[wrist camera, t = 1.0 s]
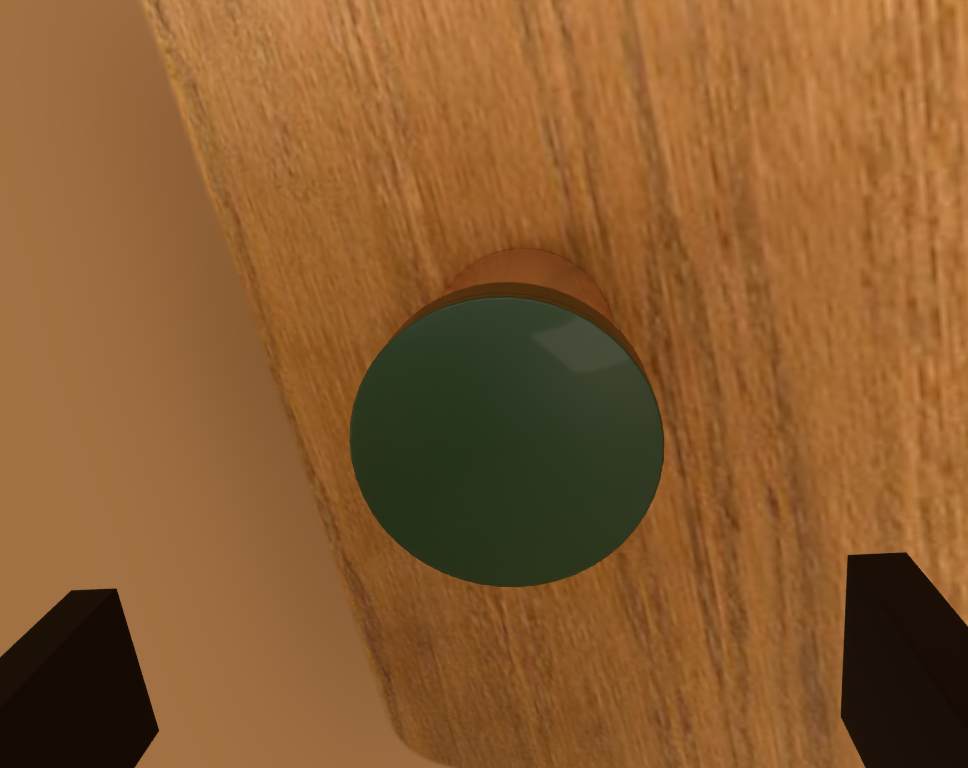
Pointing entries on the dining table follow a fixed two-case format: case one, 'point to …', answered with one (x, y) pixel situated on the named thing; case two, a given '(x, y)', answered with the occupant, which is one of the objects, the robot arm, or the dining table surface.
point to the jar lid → (507, 435)
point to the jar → (533, 275)
